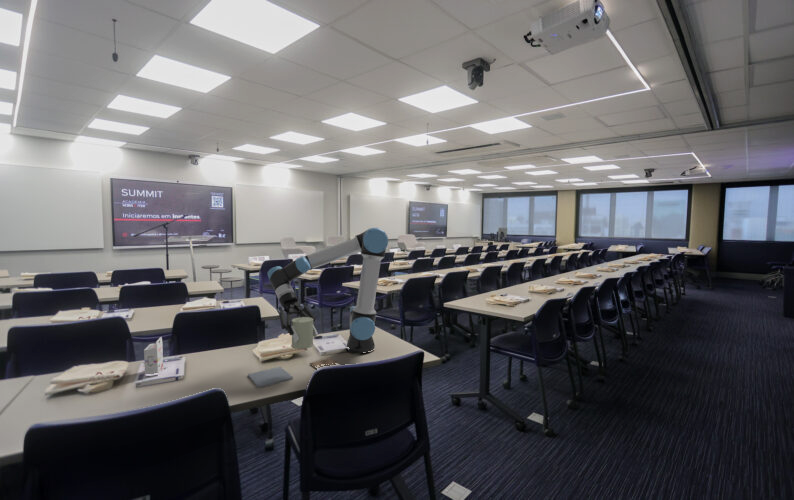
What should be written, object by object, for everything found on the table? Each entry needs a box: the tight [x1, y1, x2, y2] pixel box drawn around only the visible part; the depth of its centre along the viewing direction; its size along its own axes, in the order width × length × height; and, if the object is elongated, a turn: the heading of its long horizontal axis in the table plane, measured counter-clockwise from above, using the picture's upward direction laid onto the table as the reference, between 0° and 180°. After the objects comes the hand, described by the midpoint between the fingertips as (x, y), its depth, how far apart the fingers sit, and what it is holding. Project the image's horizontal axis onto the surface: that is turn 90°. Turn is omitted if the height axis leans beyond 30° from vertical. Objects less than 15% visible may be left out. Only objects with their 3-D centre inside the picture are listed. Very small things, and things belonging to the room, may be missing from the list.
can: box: [291, 316, 314, 350], centre depth 150 cm, size 9×9×12 cm
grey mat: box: [247, 366, 294, 389], centre depth 146 cm, size 14×14×1 cm
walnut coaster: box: [309, 357, 338, 370], centre depth 160 cm, size 11×11×1 cm
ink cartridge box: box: [143, 336, 164, 375], centre depth 148 cm, size 9×5×15 cm, turn 22°
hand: (306, 338), depth 148 cm, fingers closed on can, 9 cm apart
